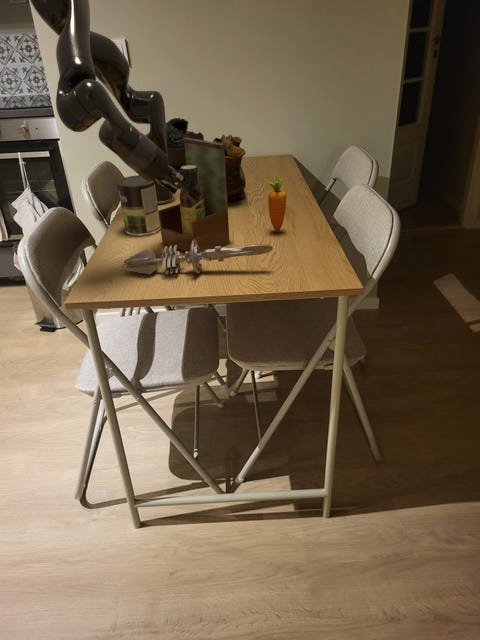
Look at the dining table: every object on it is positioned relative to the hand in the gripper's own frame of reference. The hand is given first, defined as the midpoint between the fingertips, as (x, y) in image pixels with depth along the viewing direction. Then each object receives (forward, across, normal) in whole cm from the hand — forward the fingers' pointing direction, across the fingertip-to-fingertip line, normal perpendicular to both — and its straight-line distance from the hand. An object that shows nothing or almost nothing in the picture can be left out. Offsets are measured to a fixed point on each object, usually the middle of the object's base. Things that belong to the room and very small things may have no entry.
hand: (186, 193), depth 118 cm
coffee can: (+8, -20, -11) cm, 24 cm away
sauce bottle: (+11, 0, -9) cm, 14 cm away
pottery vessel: (+34, -21, +15) cm, 43 cm away
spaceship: (+3, +14, -17) cm, 22 cm away
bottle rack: (+10, 0, -9) cm, 14 cm away
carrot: (+24, +12, +5) cm, 28 cm away
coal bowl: (+44, -63, +25) cm, 81 cm away
